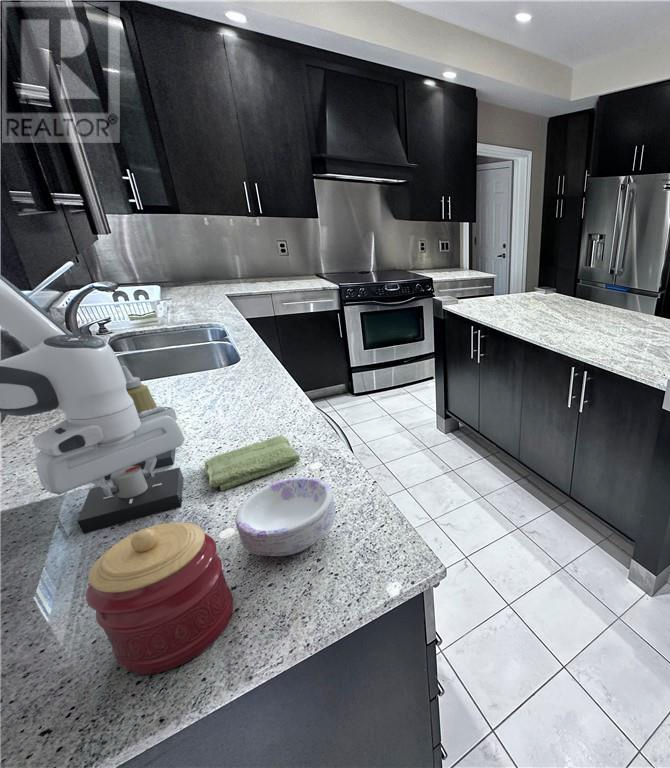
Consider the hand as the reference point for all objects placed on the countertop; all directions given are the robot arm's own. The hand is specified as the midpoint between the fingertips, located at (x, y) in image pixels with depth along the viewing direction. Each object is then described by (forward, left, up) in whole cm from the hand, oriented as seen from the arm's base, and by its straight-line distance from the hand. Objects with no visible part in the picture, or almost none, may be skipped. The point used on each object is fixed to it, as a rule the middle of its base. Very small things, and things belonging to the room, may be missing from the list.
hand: (130, 485), depth 79 cm
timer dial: (0, 0, -1) cm, 1 cm away
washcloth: (+20, +3, -5) cm, 21 cm away
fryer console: (0, 0, -4) cm, 4 cm away
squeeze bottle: (-2, +36, -5) cm, 36 cm away
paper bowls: (+24, -26, -5) cm, 36 cm away
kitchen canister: (+8, -37, -5) cm, 38 cm away
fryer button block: (-1, +18, -4) cm, 19 cm away
